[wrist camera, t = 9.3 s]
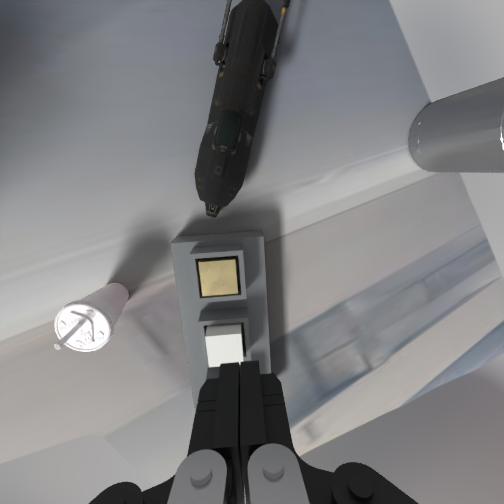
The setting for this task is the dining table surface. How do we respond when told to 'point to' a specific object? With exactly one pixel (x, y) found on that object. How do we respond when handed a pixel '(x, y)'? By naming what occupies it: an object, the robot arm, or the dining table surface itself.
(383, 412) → the dining table surface
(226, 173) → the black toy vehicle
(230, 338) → the white square block
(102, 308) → the smoothie
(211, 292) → the brass metal cube
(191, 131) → the dining table surface
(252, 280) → the console
